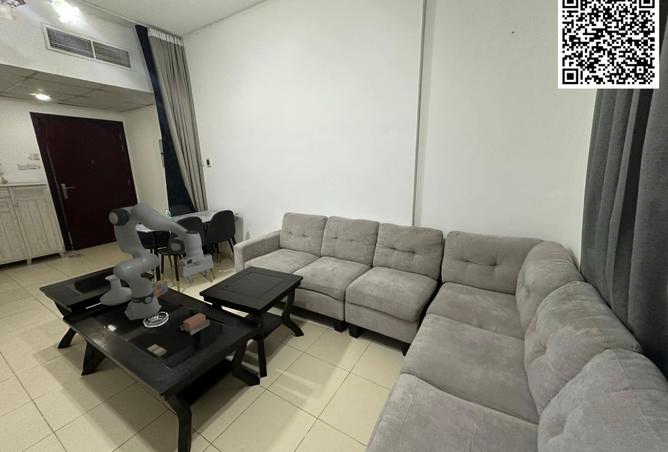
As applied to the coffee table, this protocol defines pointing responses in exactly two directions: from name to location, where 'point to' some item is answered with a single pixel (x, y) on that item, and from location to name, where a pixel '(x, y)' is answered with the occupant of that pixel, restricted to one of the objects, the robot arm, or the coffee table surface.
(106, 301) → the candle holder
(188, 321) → the terracotta block
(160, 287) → the stack of blocks
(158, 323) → the coffee table surface
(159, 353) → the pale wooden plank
